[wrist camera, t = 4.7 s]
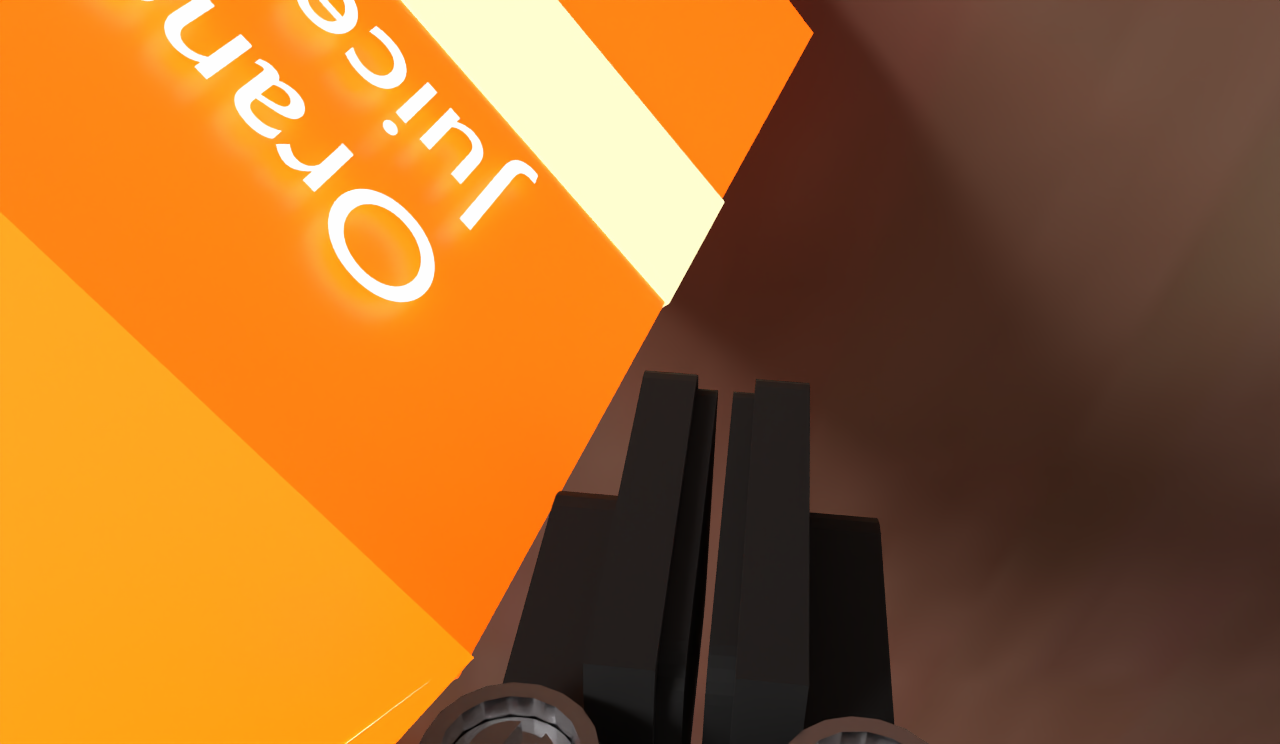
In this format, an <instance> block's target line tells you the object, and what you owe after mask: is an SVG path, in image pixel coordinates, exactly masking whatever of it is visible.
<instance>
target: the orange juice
mask: <svg viewBox="0 0 1280 744" xmlns="http://www.w3.org/2000/svg"><path fill="white" fill-rule="evenodd" d="M812 35H813V32H812V30H811V29H810V28H809V26H808V25H807V24H806V22H805V21H804V20H803V18H802V17H801V16H800V14H799V13H798V12H797V10H796V9H795V8H794V7H793V5H792V4H791V3H790V1H789V0H0V744H395V743H396V742H397V741H398V740H399V739H400V738H401V737H402V736H403V734H404V733H405V732H406V731H407V730H408V729H409V728H410V727H411V726H412V725H413V724H414V722H415V721H416V720H417V719H418V718H419V717H420V716H421V715H422V714H423V713H424V711H425V710H426V709H427V708H428V707H429V706H430V705H431V704H432V703H433V702H434V700H435V699H436V698H437V697H438V696H439V695H440V694H441V693H442V692H443V691H444V689H445V688H446V687H447V686H448V685H449V684H450V683H451V682H452V681H453V680H454V679H457V678H458V677H459V675H460V674H461V672H462V670H463V669H464V667H465V666H466V665H467V664H468V663H469V662H470V661H471V660H472V659H473V658H474V657H473V656H472V655H471V654H472V652H473V650H474V648H475V646H476V644H477V643H478V641H479V639H480V637H481V635H482V634H483V632H484V630H485V628H486V626H487V625H488V623H489V621H490V619H491V617H492V615H493V614H494V612H495V610H496V608H497V606H498V605H499V603H500V601H501V599H502V597H503V595H504V594H505V592H506V590H507V588H508V586H509V585H510V583H511V581H512V579H513V577H514V576H515V574H516V572H517V570H518V568H519V566H520V565H521V563H522V561H523V559H524V557H525V556H526V554H527V552H528V550H529V548H530V546H531V545H532V543H533V541H534V539H535V537H536V536H537V534H538V532H539V530H540V528H541V526H542V525H543V523H544V521H545V519H546V517H547V516H548V514H549V512H550V510H551V508H552V504H553V502H554V499H555V496H556V494H557V493H558V492H559V491H561V490H562V488H563V487H564V485H565V483H566V481H567V479H568V477H569V476H570V474H571V472H572V470H573V468H574V467H575V465H576V463H577V461H578V459H579V458H580V456H581V454H582V452H583V450H584V448H585V447H586V445H587V443H588V441H589V439H590V438H591V436H592V434H593V432H594V430H595V428H596V427H597V425H598V423H599V421H600V419H601V418H602V416H603V414H604V412H605V410H606V408H607V407H608V405H609V403H610V401H611V399H612V398H613V396H614V394H615V392H616V390H617V389H618V387H619V385H620V383H621V381H622V379H623V378H624V376H625V374H626V372H627V370H628V369H629V367H630V365H631V363H632V361H633V359H634V358H635V356H636V354H637V352H638V350H639V349H640V347H641V345H642V343H643V341H644V340H645V338H646V336H647V334H648V332H649V330H650V329H651V327H652V325H653V323H654V321H655V320H656V318H657V316H658V314H659V312H660V310H661V309H662V307H664V306H666V305H668V304H669V303H670V301H671V299H672V298H673V296H674V294H675V292H676V290H677V288H678V287H679V285H680V283H681V281H682V279H683V277H684V276H685V274H686V272H687V270H688V268H689V266H690V265H691V263H692V261H693V259H694V257H695V255H696V254H697V252H698V250H699V248H700V246H701V244H702V243H703V241H704V239H705V237H706V235H707V233H708V232H709V230H710V228H711V226H712V224H713V222H714V221H715V219H716V217H717V215H718V213H719V211H720V210H721V208H722V206H723V204H724V201H723V199H722V198H723V196H724V194H725V192H726V191H727V189H728V187H729V185H730V183H731V182H732V180H733V178H734V176H735V174H736V172H737V171H738V169H739V167H740V165H741V163H742V162H743V160H744V158H745V156H746V154H747V153H748V151H749V149H750V147H751V145H752V143H753V142H754V140H755V138H756V136H757V134H758V133H759V131H760V129H761V127H762V125H763V123H764V122H765V120H766V118H767V116H768V114H769V113H770V111H771V109H772V107H773V105H774V104H775V102H776V100H777V98H778V96H779V94H780V93H781V91H782V89H783V87H784V85H785V84H786V82H787V80H788V78H789V76H790V74H791V73H792V71H793V69H794V67H795V65H796V64H797V62H798V60H799V58H800V56H801V54H802V53H803V51H804V49H805V47H806V45H807V44H808V42H809V40H810V38H811V36H812Z"/></svg>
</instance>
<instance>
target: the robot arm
mask: <svg viewBox="0 0 1280 744" xmlns="http://www.w3.org/2000/svg"><path fill="white" fill-rule="evenodd" d="M717 401H718V390H706V389H698V375H695V374H683V373H670V372H657V371H645V372H644V375H643V380H642V384H641V389H640V394H639V399H638V403H637V408H636V413H635V418H634V423H633V427H632V432H631V437H630V442H629V446H628V451H627V456H626V461H625V466H624V470H623V475H622V480H621V485H620V489H619V494H618V496H613V495H602V494H590V493H579V492H567V491H559V492H558V493H557V494H556V496H555V499H554V502H553V504H552V508H551V511H550V515H549V519H548V522H547V526H546V529H545V533H544V537H543V540H542V544H541V547H540V551H539V555H538V558H537V562H536V565H535V569H534V573H533V576H532V580H531V583H530V587H529V591H528V594H527V598H526V601H525V605H524V609H523V612H522V616H521V619H520V623H519V627H518V630H517V634H516V637H515V641H514V645H513V648H512V652H511V655H510V659H509V663H508V666H507V670H506V673H505V677H504V681H503V684H497V685H491V686H485V687H483V688H480V689H478V690H475V691H473V692H470V693H468V694H465V695H463V696H461V697H460V698H458V699H457V700H456V701H454V702H453V703H451V704H450V705H449V706H447V707H446V708H445V709H443V710H442V711H441V712H440V713H439V714H438V716H437V717H436V718H435V720H434V721H433V722H432V724H431V725H430V726H429V728H428V729H427V730H426V732H425V734H424V735H423V737H422V739H421V741H420V743H419V744H691V734H692V725H693V715H694V705H695V696H696V686H697V677H698V667H699V657H700V648H701V638H702V628H703V618H704V607H705V595H706V580H707V564H708V547H709V531H710V515H711V499H712V482H713V466H714V450H715V434H716V418H717ZM809 495H810V385H809V383H799V382H787V381H774V380H761V379H756V384H755V393H745V392H734V393H733V403H732V414H731V424H730V435H729V445H728V456H727V466H726V477H725V487H724V498H723V508H722V519H721V529H720V540H719V550H718V561H717V572H716V582H715V593H714V603H713V614H712V624H711V635H710V645H709V656H708V668H707V681H706V694H705V708H704V724H703V739H702V744H928V743H927V742H925V741H924V740H922V739H921V738H919V737H917V736H916V735H914V734H913V733H911V732H910V731H908V730H907V729H905V728H902V727H899V726H896V725H894V714H893V700H892V686H891V672H890V658H889V644H888V630H887V616H886V602H885V588H884V574H883V560H882V546H881V533H880V525H879V521H878V519H877V518H867V517H855V516H844V515H832V514H821V513H809Z"/></svg>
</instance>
